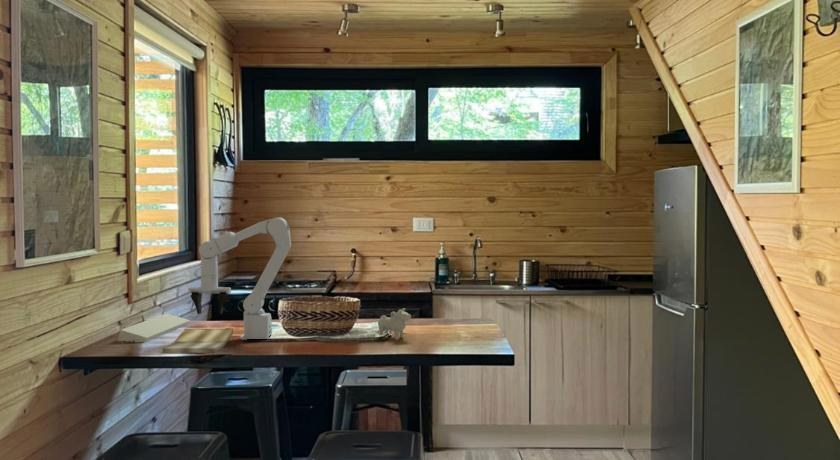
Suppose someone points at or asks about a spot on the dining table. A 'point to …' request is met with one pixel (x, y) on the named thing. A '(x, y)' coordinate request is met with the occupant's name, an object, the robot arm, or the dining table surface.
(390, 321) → the grey animal figure
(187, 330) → the oak plank
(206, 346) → the laminate section
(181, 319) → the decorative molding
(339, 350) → the dining table surface
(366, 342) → the dining table surface
